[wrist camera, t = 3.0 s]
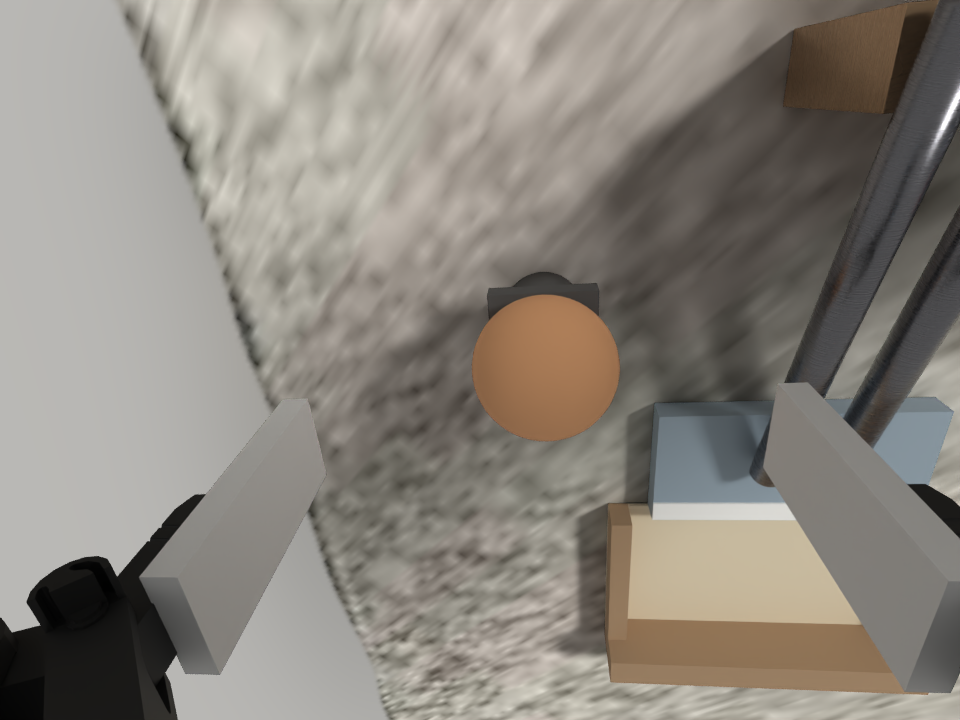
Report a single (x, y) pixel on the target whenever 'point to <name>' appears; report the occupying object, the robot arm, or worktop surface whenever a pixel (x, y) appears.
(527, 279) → the tee
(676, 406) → the block
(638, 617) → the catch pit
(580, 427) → the ball
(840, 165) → the worktop surface
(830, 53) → the ramp
